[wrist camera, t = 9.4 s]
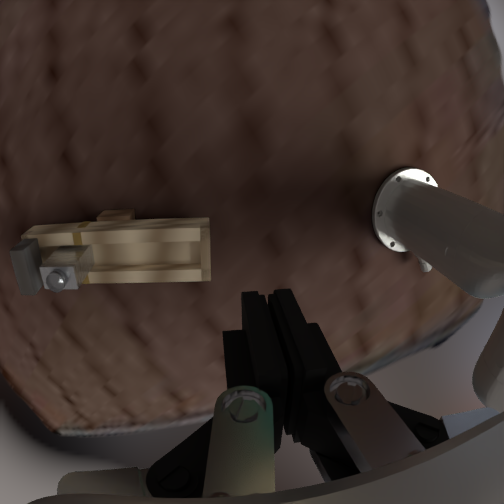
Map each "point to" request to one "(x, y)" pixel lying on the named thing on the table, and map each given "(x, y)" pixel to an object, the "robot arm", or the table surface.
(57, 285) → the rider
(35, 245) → the beam
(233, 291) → the table surface
